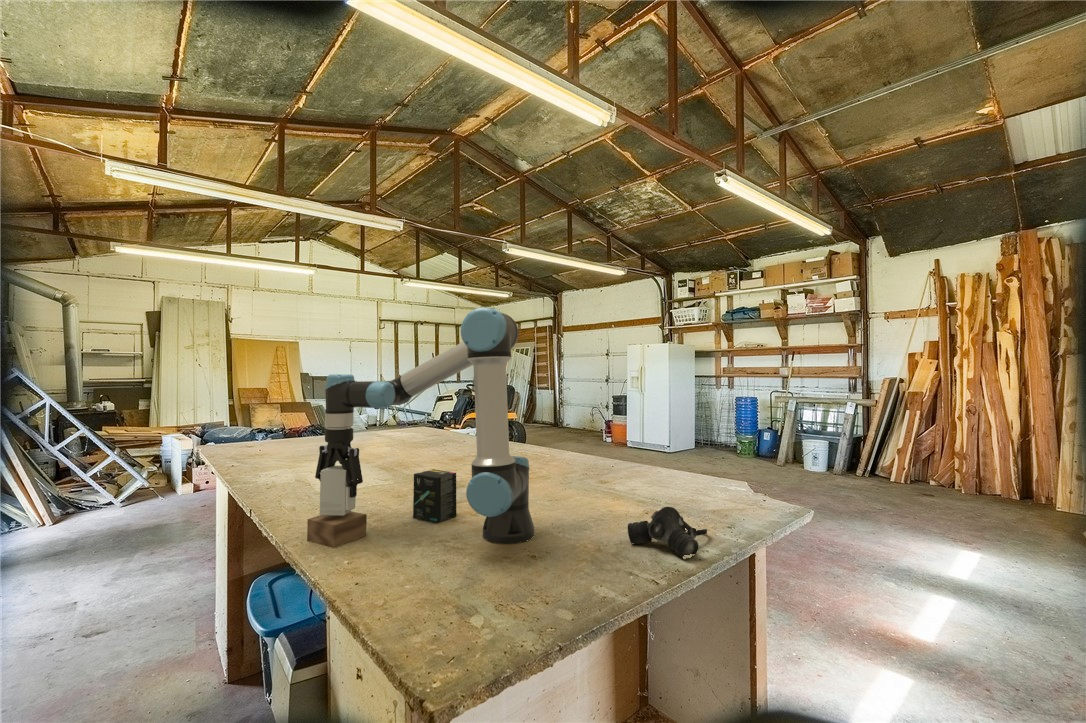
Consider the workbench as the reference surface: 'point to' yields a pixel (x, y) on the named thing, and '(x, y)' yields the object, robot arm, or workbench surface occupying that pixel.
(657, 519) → the respirator mask
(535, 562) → the workbench surface
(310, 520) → the walnut block
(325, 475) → the supplement box
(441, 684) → the workbench surface
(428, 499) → the tampon box
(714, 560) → the workbench surface
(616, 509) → the workbench surface
